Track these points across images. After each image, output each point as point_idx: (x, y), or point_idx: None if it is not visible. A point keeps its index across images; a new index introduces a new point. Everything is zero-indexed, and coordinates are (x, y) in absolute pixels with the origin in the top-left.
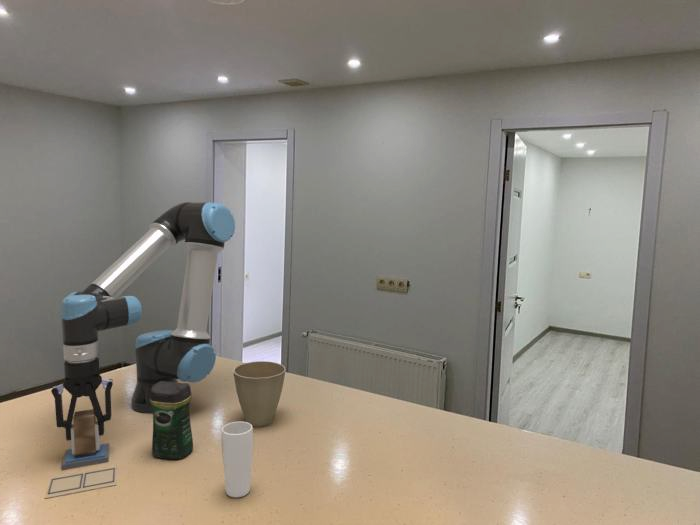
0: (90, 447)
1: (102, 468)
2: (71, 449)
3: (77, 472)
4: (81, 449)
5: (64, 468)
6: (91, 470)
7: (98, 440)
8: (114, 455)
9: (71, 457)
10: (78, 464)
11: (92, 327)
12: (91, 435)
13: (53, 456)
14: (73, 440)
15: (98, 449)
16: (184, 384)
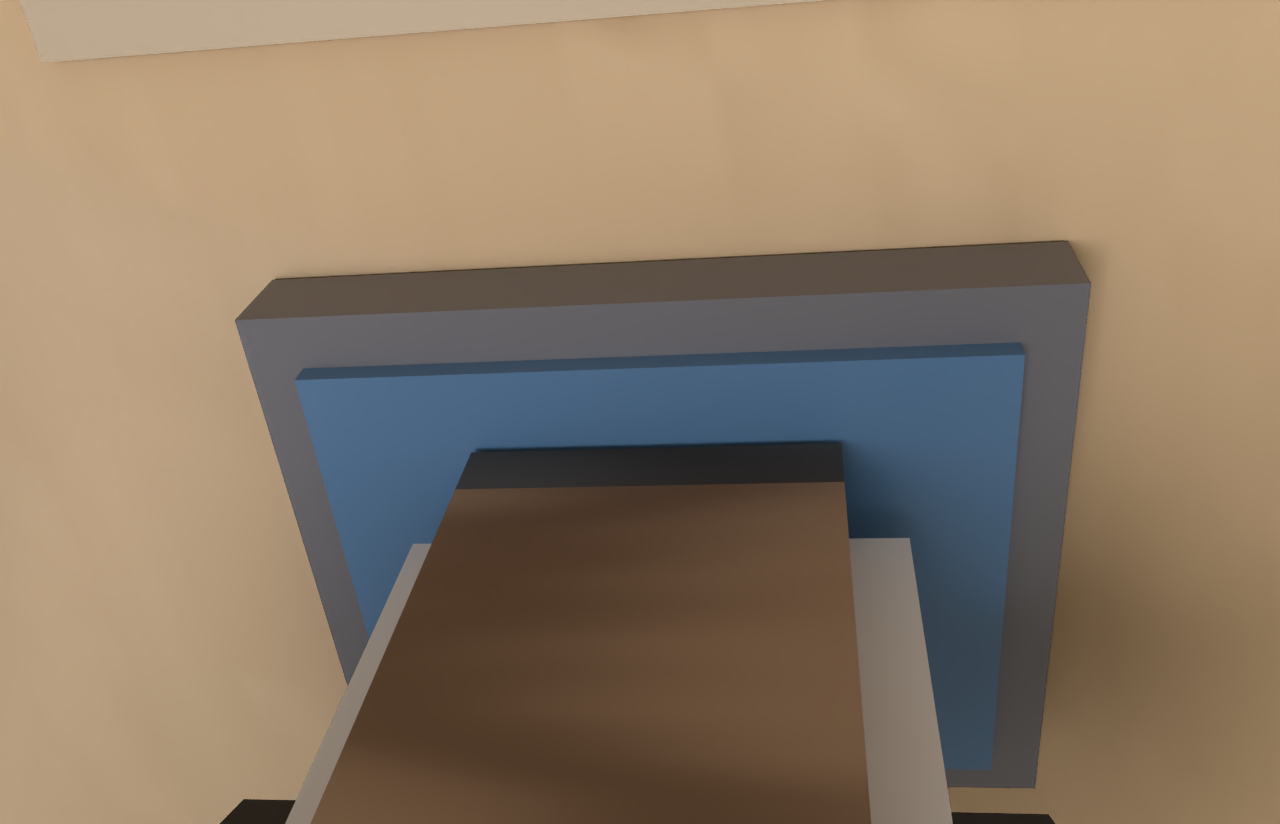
0: (528, 558)
1: (286, 20)
2: None
3: (757, 2)
4: (712, 546)
5: (1026, 254)
6: (488, 6)
7: (352, 688)
8: (245, 473)
9: (918, 502)
10: (769, 278)
11: None
12: (414, 779)
13: (1207, 735)
14: (894, 774)
15: (424, 552)
16: None
